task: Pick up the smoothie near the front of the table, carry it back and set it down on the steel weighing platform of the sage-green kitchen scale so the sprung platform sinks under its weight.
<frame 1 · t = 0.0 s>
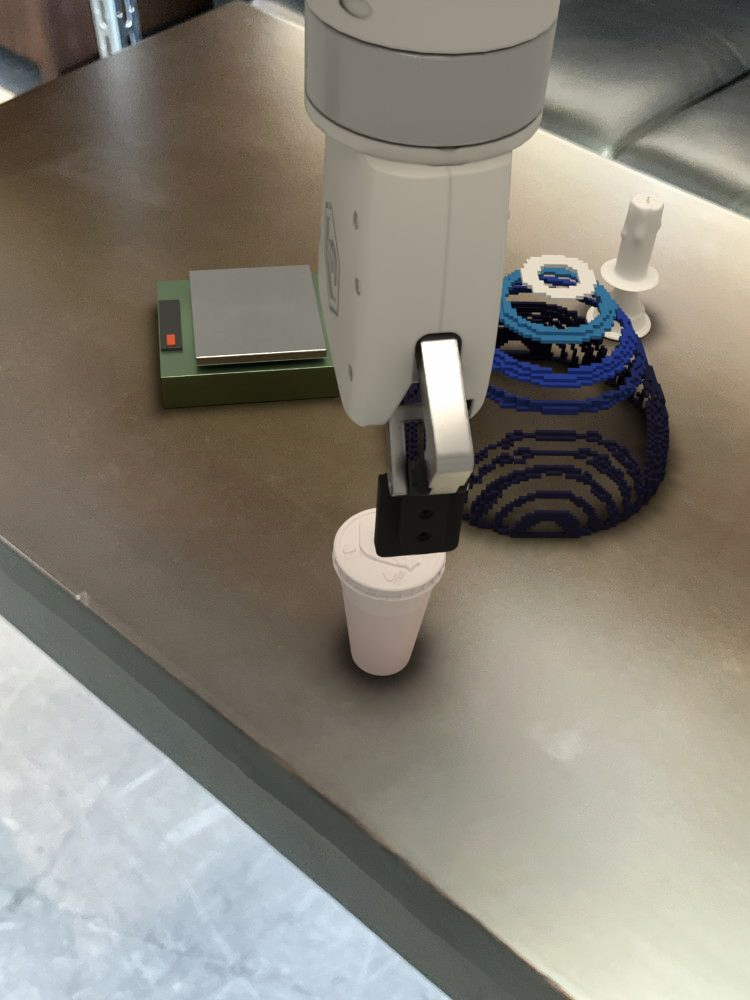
hand: (394, 461, 47), 24 cm above the table, tool pointing down, fingers open, 9 cm apart
decorative bowl: (528, 439, 85), on the table
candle: (617, 324, 96), on the table
scale platform: (255, 312, 88), point 4 cm above the table, slide at 0.0 cm
smoothie: (380, 653, 71), on the table
scale: (245, 352, 90), on the table
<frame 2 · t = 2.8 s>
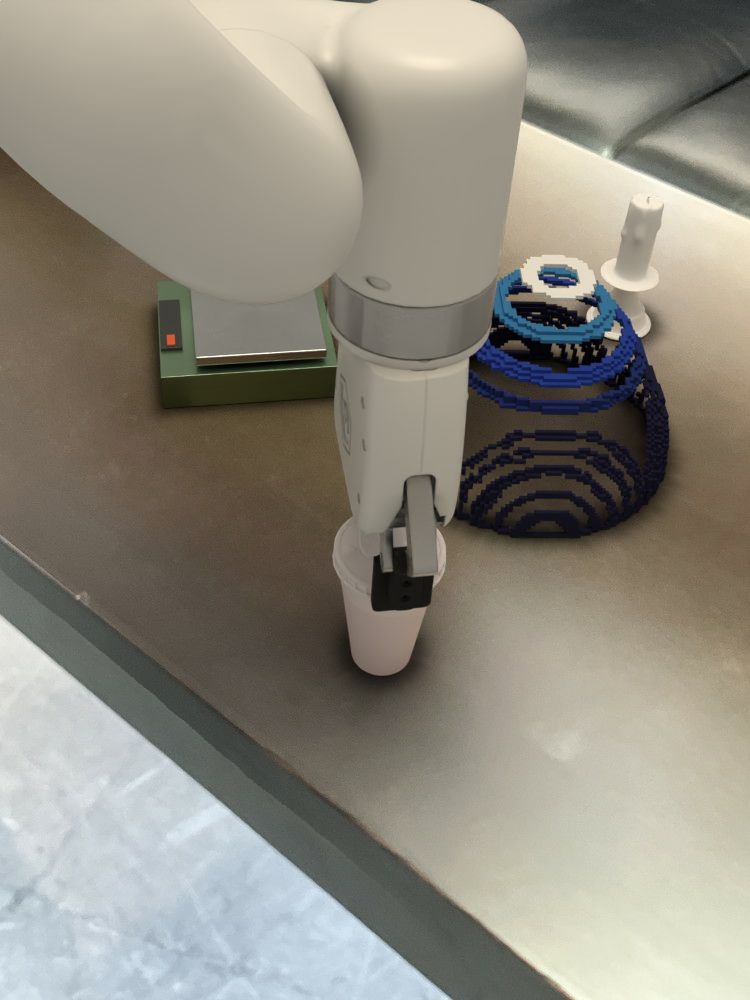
hand: (389, 554, 64), 9 cm above the table, tool pointing down, fingers closed on smoothie, 6 cm apart
smoothie: (381, 652, 71), on the table, touching gripper
everything else where it was.
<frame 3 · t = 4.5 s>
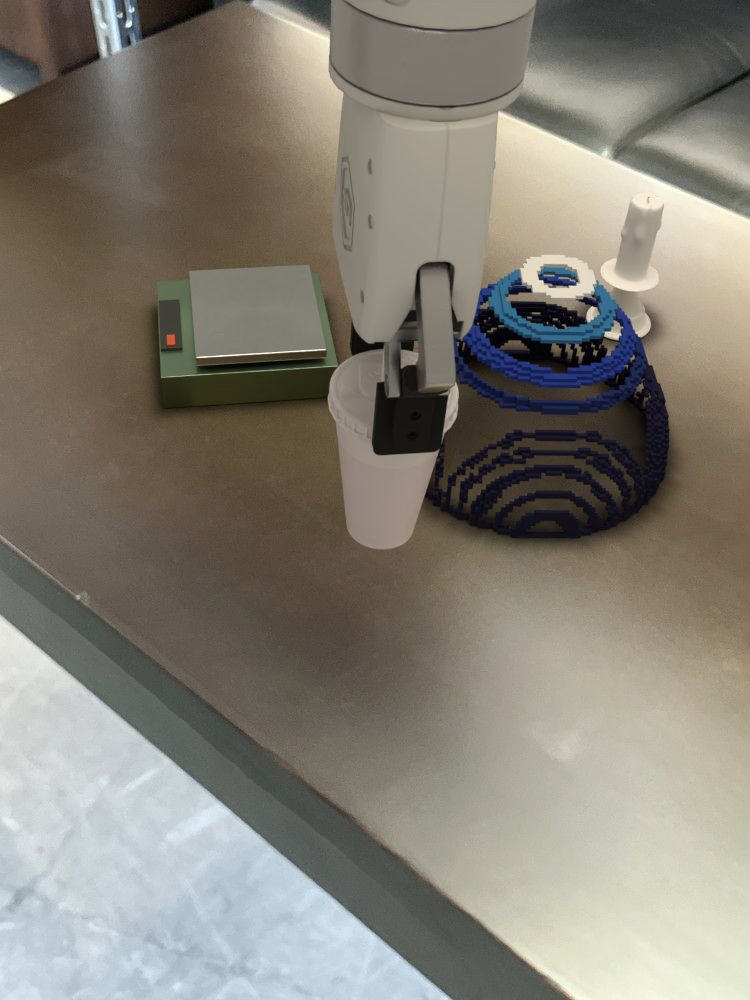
hand: (393, 397, 56), 21 cm above the table, tool pointing down, fingers closed on smoothie, 6 cm apart
smoothie: (380, 526, 62), point 11 cm above the table, touching gripper
everything else where it was.
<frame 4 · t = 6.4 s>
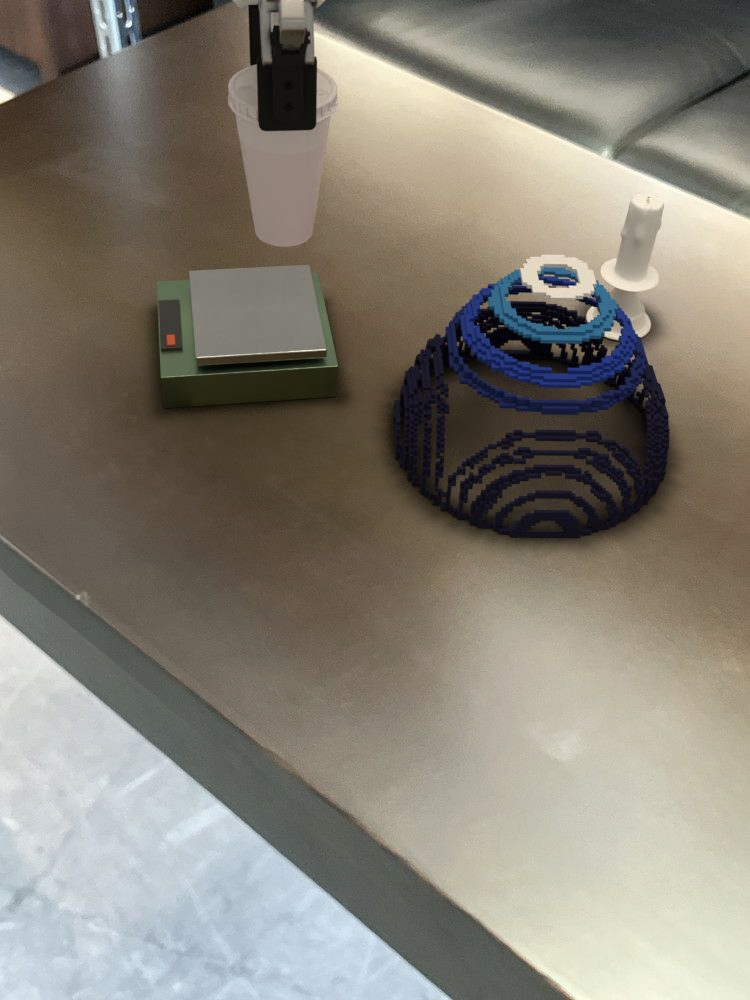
hand: (282, 95, 67), 26 cm above the table, tool pointing down, fingers closed on smoothie, 6 cm apart
smoothie: (284, 233, 73), point 16 cm above the table, touching gripper
everything else where it was.
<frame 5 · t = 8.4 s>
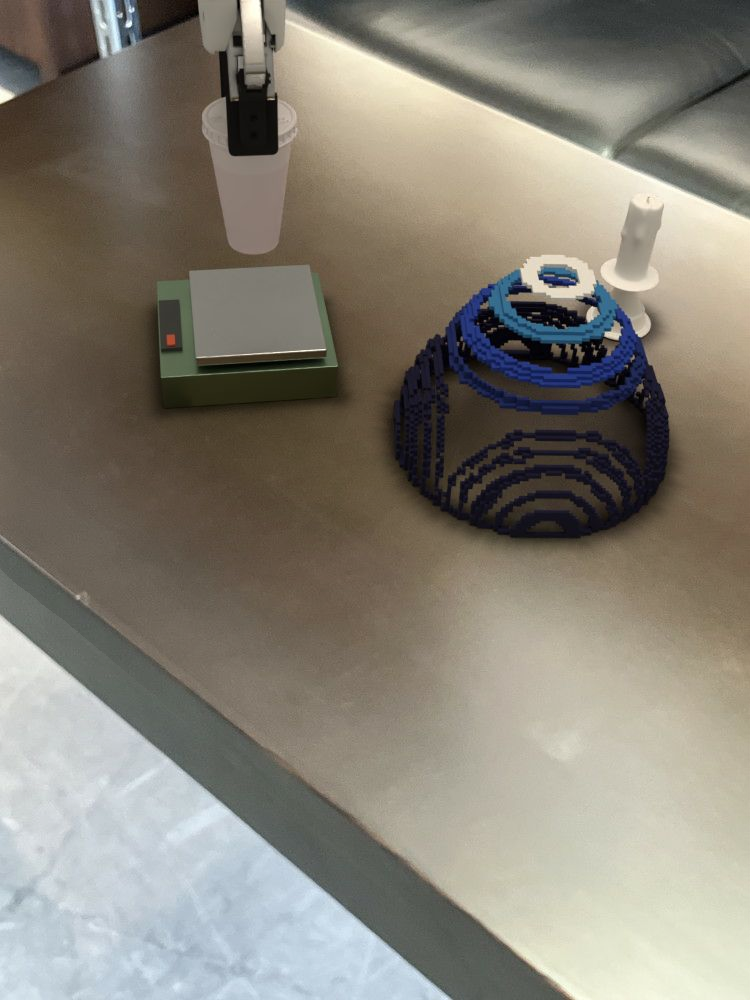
hand: (248, 124, 77), 19 cm above the table, tool pointing down, fingers closed on smoothie, 6 cm apart
smoothie: (253, 242, 83), point 10 cm above the table, touching gripper
everything else where it was.
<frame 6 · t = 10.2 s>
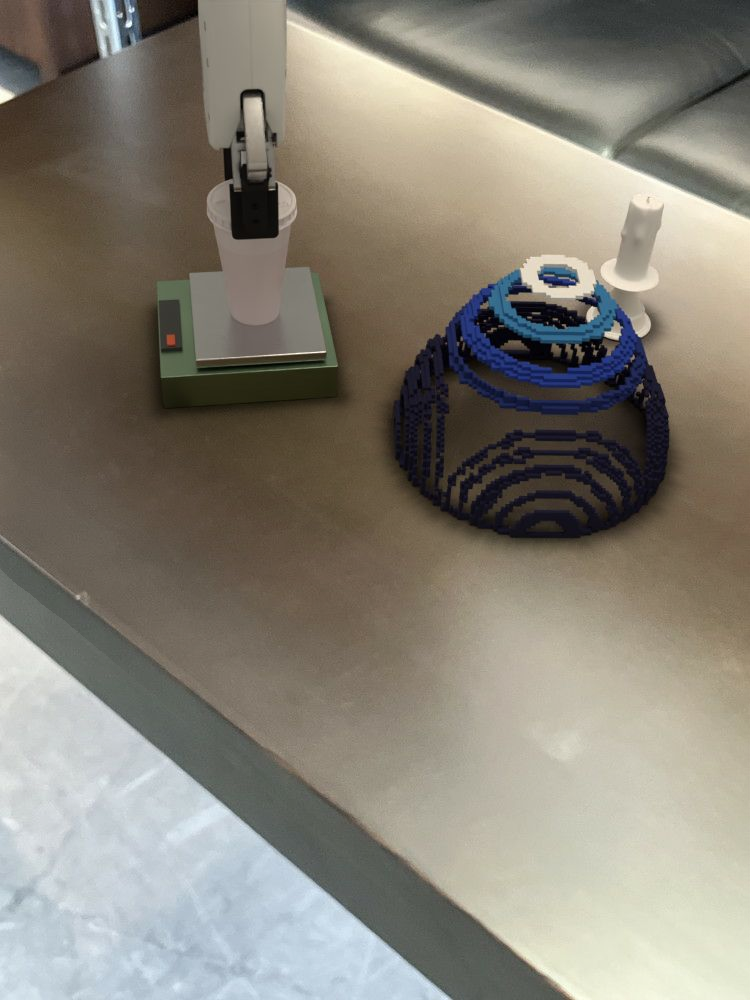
hand: (250, 206, 81), 13 cm above the table, tool pointing down, fingers closed on smoothie, 6 cm apart
scale platform: (255, 315, 88), point 4 cm above the table, slide at -0.2 cm, touching smoothie
smoothie: (255, 313, 88), point 4 cm above the table, touching gripper, scale platform
everything else where it was.
when the fingers open (13 cm above the table, at t = 10.3 s): smoothie stays where it is, resting on scale platform.
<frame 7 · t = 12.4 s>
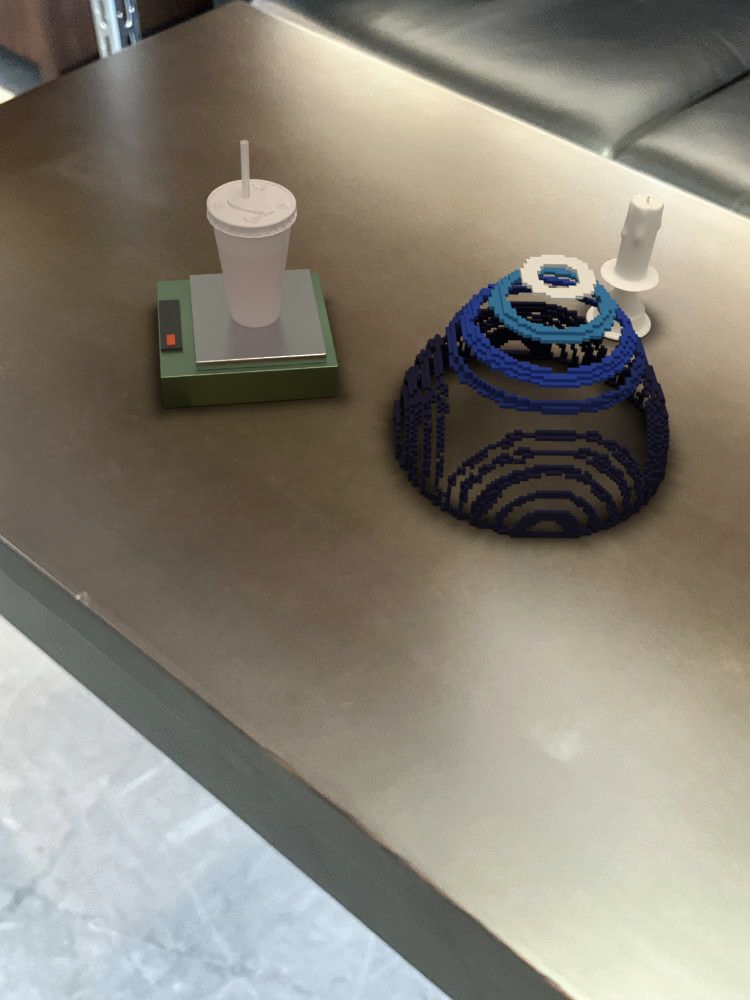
scale platform: (255, 317, 88), point 3 cm above the table, slide at -0.4 cm, touching scale, smoothie
smoothie: (255, 315, 88), point 4 cm above the table, touching scale platform
everything else where it was.
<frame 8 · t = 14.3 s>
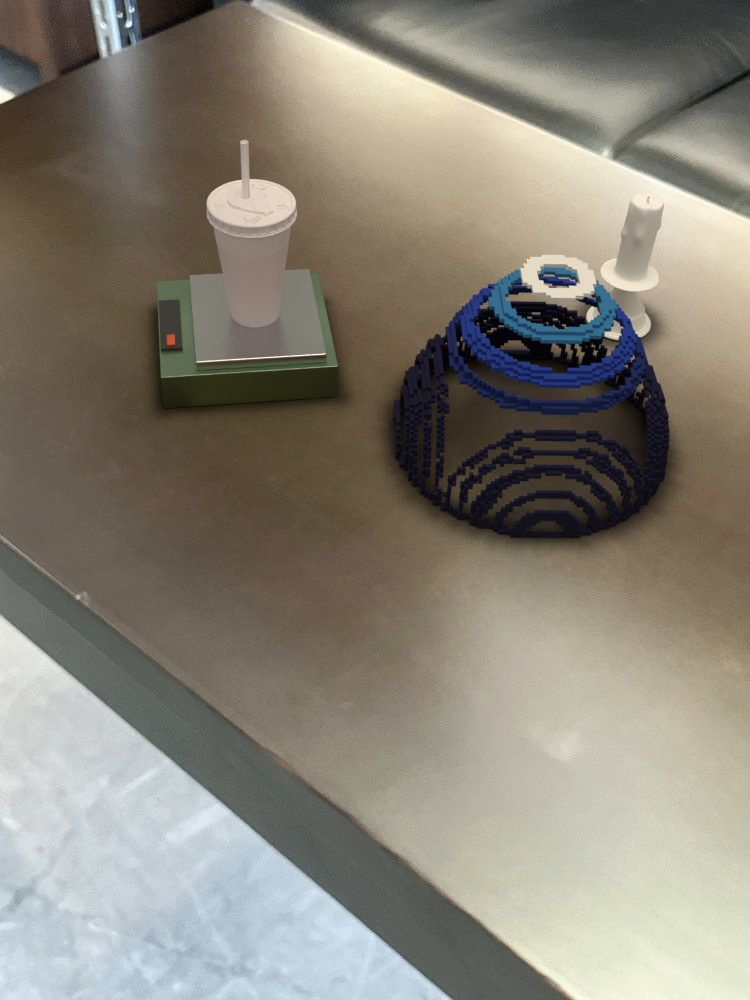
nothing on the table moved.
at the end: smoothie inside the target area on the scale (0.1 cm from its centre), point 3.6 cm above the scale's base; smoothie tilted 0°; scale platform slide at -0.4 cm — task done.
